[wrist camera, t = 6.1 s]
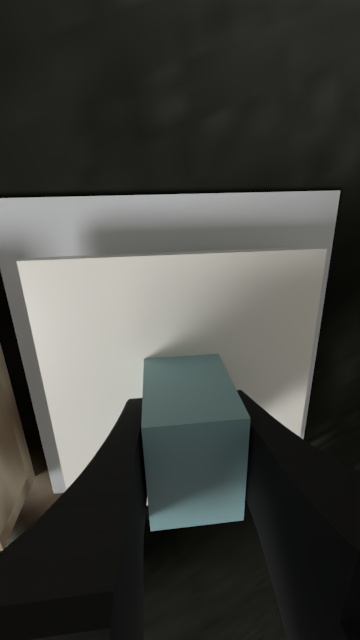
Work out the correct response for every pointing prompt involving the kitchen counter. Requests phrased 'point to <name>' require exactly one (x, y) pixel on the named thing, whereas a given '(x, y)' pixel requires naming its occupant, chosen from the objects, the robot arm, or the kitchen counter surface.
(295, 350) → the lid
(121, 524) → the robot arm
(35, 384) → the mat
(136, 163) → the kitchen counter surface
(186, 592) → the kitchen counter surface
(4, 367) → the box
